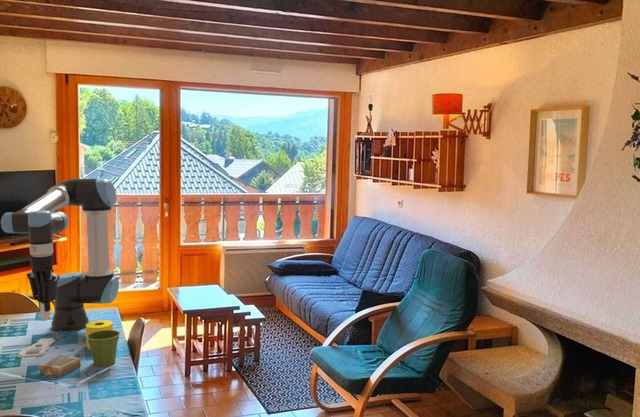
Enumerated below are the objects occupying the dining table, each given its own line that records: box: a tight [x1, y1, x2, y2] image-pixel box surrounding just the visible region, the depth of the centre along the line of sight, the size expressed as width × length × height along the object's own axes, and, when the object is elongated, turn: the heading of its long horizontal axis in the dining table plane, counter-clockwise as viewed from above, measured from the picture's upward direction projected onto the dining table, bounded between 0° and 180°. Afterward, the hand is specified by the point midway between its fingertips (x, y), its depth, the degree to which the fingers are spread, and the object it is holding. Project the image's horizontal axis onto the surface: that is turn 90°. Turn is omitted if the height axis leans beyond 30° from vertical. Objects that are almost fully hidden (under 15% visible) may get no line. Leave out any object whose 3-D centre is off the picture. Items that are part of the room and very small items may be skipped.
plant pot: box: [85, 329, 121, 367], centre depth 225 cm, size 12×12×11 cm
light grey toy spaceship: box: [16, 337, 56, 360], centre depth 238 cm, size 18×4×10 cm
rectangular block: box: [39, 354, 82, 377], centre depth 219 cm, size 3×10×9 cm
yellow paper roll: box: [85, 319, 114, 350], centre depth 243 cm, size 10×10×9 cm
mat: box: [20, 375, 54, 383], centre depth 219 cm, size 16×14×1 cm
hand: (45, 319), depth 219 cm, fingers closed
